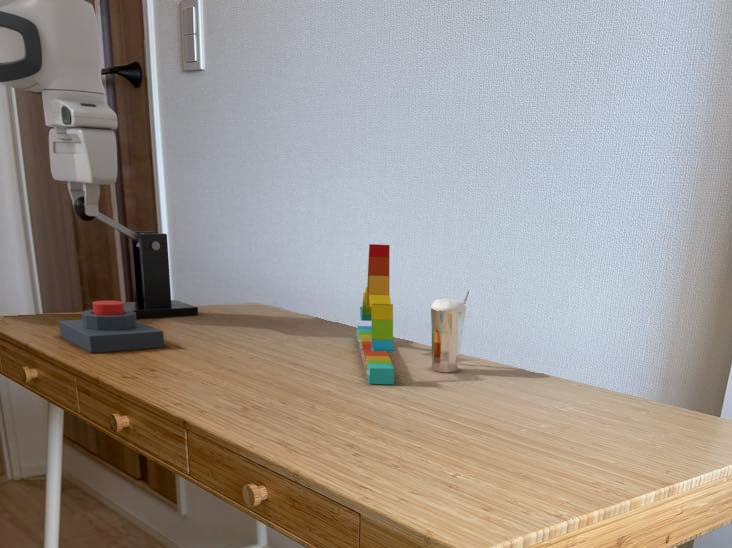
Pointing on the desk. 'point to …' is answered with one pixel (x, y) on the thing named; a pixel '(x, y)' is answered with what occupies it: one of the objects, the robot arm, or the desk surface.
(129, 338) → the button block
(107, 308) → the button
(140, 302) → the black lever stand
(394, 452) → the desk surface
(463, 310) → the milkshake
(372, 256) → the chart
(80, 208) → the tap lever
